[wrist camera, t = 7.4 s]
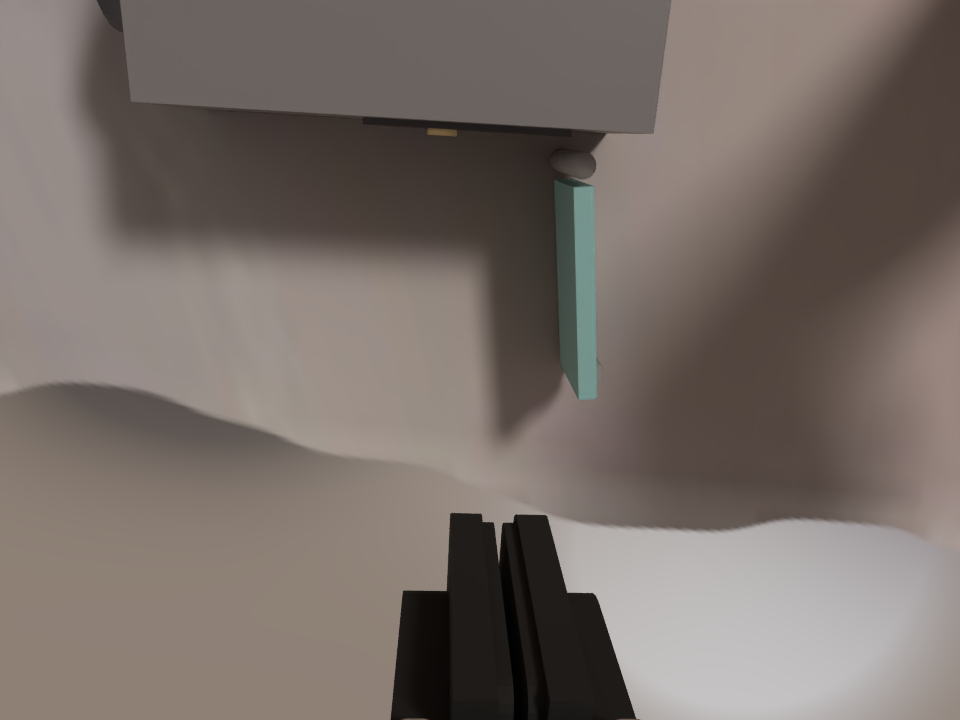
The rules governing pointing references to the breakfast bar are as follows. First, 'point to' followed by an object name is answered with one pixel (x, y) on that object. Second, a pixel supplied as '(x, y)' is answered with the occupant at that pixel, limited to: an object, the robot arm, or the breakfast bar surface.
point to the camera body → (405, 60)
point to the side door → (576, 271)
